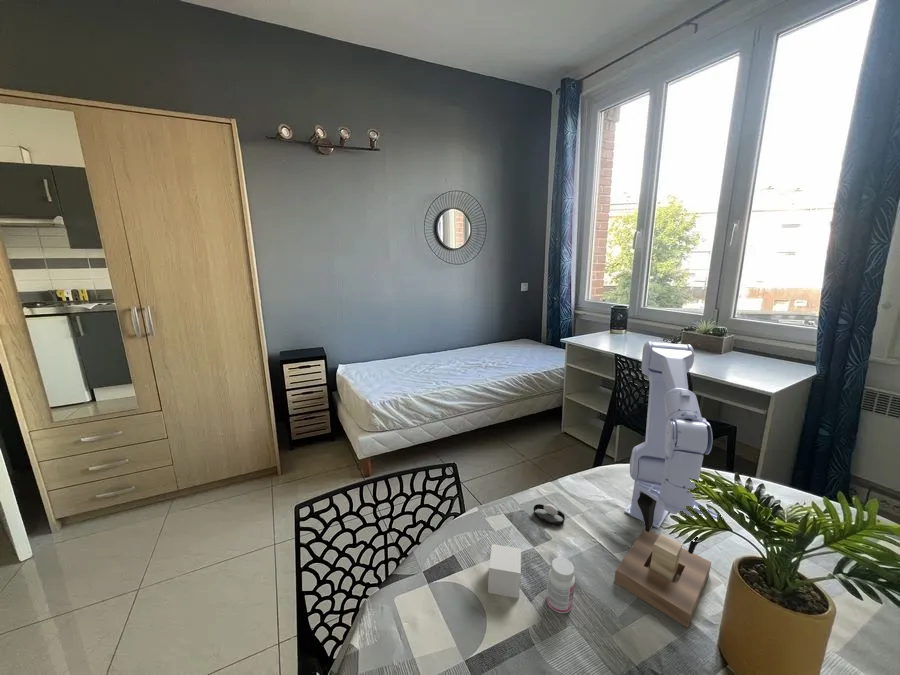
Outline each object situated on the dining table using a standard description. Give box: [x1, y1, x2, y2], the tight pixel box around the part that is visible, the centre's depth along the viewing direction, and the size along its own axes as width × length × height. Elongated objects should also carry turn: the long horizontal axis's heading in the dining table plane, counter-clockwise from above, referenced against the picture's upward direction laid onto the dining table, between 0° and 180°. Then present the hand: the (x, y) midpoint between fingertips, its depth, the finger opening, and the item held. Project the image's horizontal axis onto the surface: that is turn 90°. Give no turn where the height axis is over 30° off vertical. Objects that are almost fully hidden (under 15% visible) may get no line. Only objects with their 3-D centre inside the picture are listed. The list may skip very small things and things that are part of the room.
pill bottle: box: [545, 557, 576, 614], centre depth 70 cm, size 5×5×8 cm
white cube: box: [487, 543, 522, 599], centre depth 74 cm, size 6×6×6 cm
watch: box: [533, 503, 566, 527], centre depth 92 cm, size 8×5×4 cm, turn 58°
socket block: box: [613, 528, 712, 629], centre depth 76 cm, size 16×13×3 cm
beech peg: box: [650, 533, 683, 582], centre depth 75 cm, size 4×4×8 cm
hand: (669, 539), depth 74 cm, fingers open, 7 cm apart
